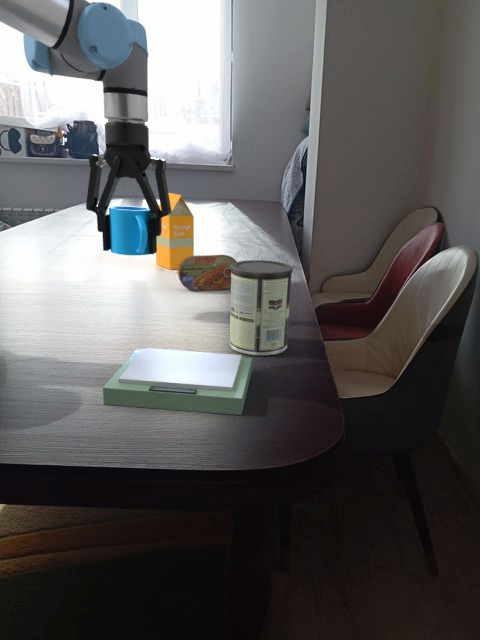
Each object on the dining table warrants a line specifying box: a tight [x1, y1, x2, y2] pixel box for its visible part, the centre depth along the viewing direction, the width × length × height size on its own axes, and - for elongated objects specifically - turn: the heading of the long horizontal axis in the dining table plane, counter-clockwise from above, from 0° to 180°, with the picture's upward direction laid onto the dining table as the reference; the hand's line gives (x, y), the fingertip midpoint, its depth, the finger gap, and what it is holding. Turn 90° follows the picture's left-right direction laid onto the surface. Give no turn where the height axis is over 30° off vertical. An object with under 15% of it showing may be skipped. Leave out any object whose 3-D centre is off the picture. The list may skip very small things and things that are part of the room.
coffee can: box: [228, 259, 294, 357], centre depth 87 cm, size 10×10×14 cm
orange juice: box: [155, 192, 195, 271], centre depth 145 cm, size 8×9×20 cm
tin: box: [177, 254, 238, 292], centre depth 124 cm, size 15×3×8 cm, turn 112°
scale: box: [102, 347, 253, 416], centre depth 72 cm, size 18×14×3 cm
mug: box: [108, 205, 153, 256], centre depth 97 cm, size 12×8×8 cm
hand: (130, 251), depth 99 cm, fingers closed on mug, 8 cm apart
